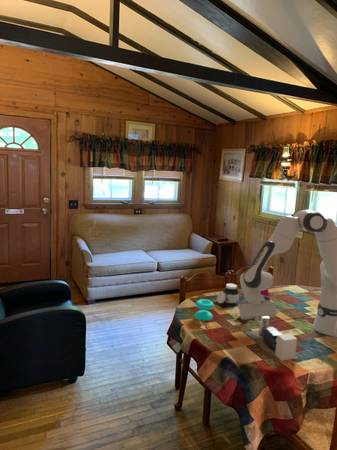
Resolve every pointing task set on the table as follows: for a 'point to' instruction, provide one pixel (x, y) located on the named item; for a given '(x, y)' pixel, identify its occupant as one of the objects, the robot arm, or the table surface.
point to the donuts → (202, 313)
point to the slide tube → (264, 326)
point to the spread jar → (229, 294)
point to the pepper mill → (265, 293)
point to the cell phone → (204, 327)
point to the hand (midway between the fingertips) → (262, 326)
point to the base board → (259, 341)
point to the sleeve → (270, 337)
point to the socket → (286, 346)
